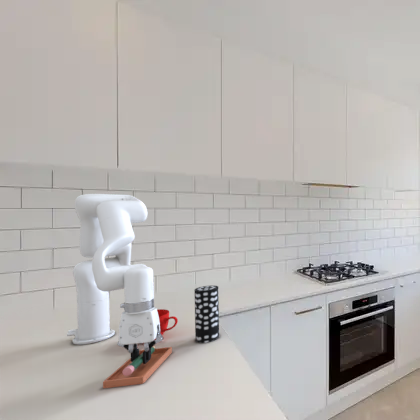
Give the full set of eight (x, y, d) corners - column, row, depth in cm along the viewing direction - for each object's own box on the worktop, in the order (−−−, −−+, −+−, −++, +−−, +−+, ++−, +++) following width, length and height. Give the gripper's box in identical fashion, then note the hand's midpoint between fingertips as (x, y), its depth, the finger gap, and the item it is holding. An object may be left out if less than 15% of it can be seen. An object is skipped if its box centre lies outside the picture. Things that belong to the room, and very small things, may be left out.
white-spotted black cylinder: (194, 344, 117) (193, 292, 117) (196, 336, 125) (195, 286, 124) (218, 340, 120) (217, 289, 120) (219, 332, 128) (219, 284, 128)
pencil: (131, 375, 92) (131, 367, 92) (122, 376, 92) (122, 368, 92) (156, 351, 108) (157, 344, 108) (149, 351, 107) (149, 344, 107)
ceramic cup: (167, 346, 116) (167, 319, 116) (120, 348, 115) (119, 321, 115) (186, 332, 129) (185, 308, 129) (144, 333, 128) (143, 309, 128)
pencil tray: (102, 388, 89) (102, 381, 89) (139, 355, 109) (139, 350, 109) (143, 383, 91) (143, 376, 91) (172, 352, 111) (171, 346, 111)
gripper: (103, 312, 94) (104, 371, 94) (162, 307, 98) (164, 365, 98) (117, 304, 101) (119, 360, 102) (172, 300, 105) (173, 354, 105)
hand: (141, 362), depth 100 cm, fingers closed on pencil, 2 cm apart
